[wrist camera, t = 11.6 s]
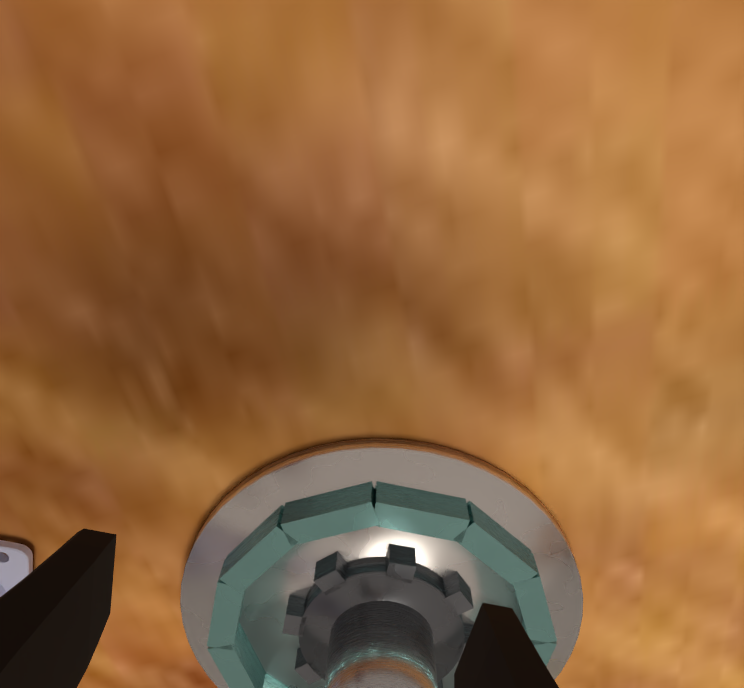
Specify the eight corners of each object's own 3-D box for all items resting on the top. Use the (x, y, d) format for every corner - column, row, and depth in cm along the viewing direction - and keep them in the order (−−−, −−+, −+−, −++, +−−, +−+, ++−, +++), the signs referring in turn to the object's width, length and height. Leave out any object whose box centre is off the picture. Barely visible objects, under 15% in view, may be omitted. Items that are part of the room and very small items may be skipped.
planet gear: (274, 670, 27) (248, 811, 22) (302, 528, 24) (280, 653, 19) (450, 697, 27) (465, 841, 22) (499, 562, 24) (530, 693, 19)
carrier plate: (168, 702, 29) (154, 745, 27) (211, 398, 22) (195, 428, 21) (507, 759, 30) (516, 804, 28) (639, 485, 24) (660, 520, 22)
